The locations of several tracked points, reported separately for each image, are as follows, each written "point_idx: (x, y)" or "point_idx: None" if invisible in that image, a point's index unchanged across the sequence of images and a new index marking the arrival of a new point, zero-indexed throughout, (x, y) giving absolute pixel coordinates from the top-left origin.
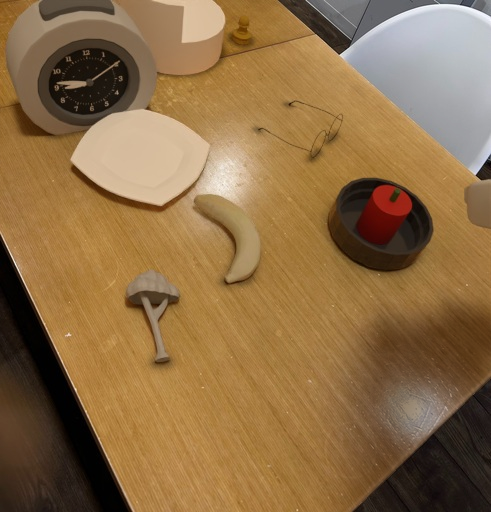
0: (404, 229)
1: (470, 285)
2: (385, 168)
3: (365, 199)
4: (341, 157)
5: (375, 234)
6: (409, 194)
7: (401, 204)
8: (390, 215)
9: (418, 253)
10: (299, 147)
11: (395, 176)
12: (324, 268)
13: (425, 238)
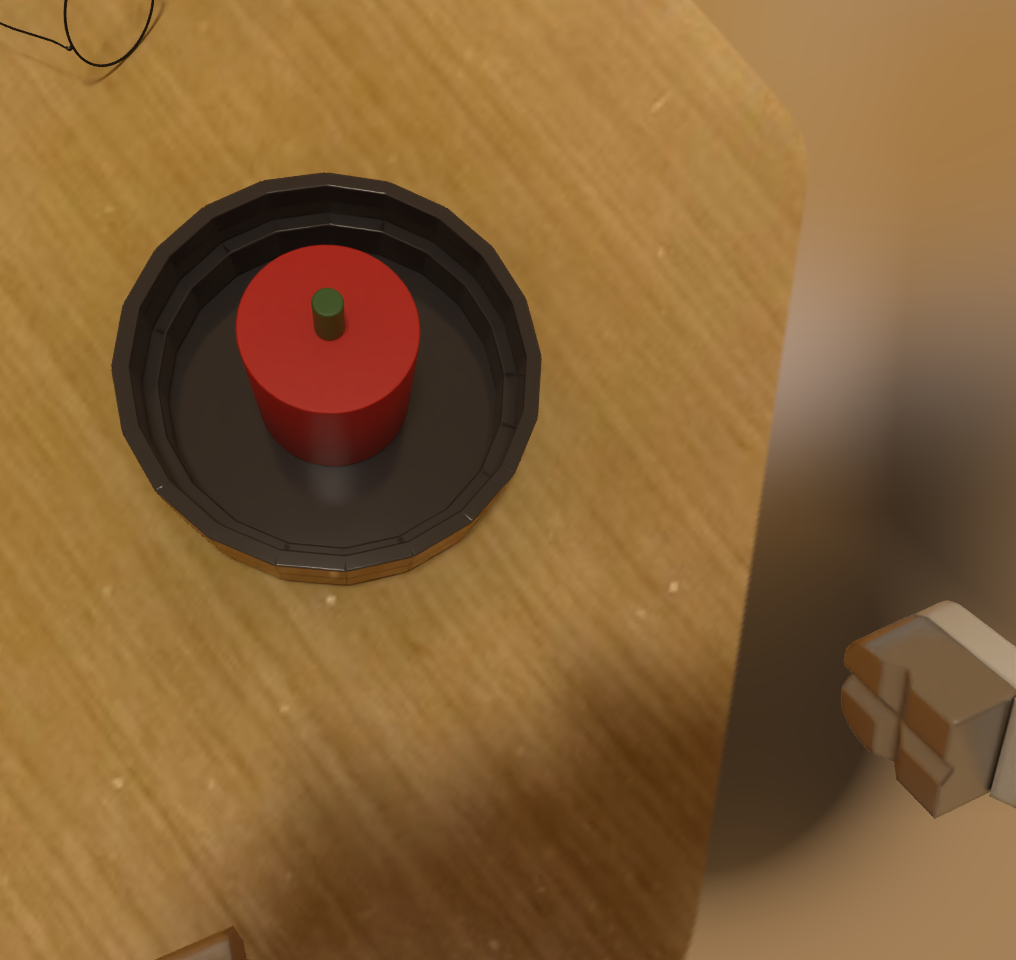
0: (458, 376)
1: (688, 586)
2: (427, 82)
3: None
4: (245, 48)
5: (304, 448)
6: (462, 241)
7: (368, 347)
8: (310, 413)
9: (466, 529)
10: (23, 31)
11: (463, 117)
12: (103, 609)
13: (505, 450)
